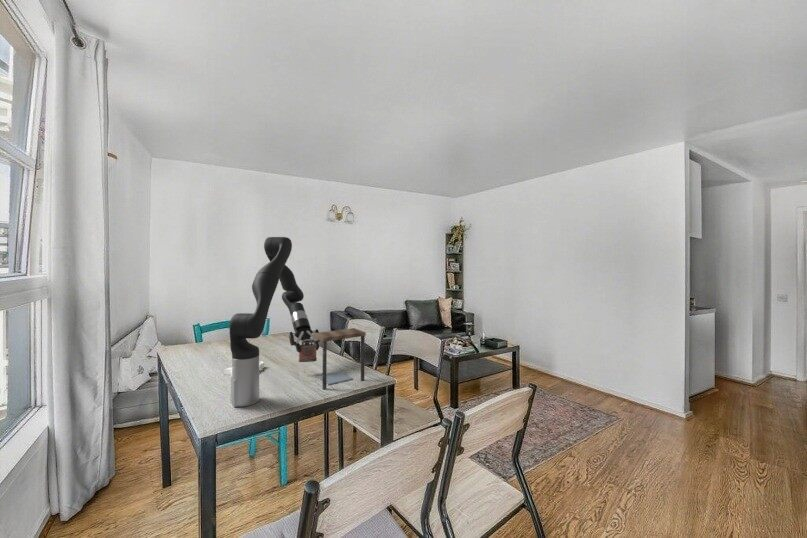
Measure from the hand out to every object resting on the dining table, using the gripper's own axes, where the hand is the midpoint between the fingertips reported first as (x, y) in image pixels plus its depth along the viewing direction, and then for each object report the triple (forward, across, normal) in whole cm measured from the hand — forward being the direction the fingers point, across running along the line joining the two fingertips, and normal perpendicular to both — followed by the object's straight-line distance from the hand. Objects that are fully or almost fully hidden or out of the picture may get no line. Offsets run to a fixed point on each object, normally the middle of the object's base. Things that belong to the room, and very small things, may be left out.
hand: (308, 350), depth 155 cm
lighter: (+3, 0, +5) cm, 6 cm away
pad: (+16, +8, +1) cm, 18 cm away
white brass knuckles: (-7, -23, +24) cm, 34 cm away
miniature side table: (+19, +8, -2) cm, 21 cm away
